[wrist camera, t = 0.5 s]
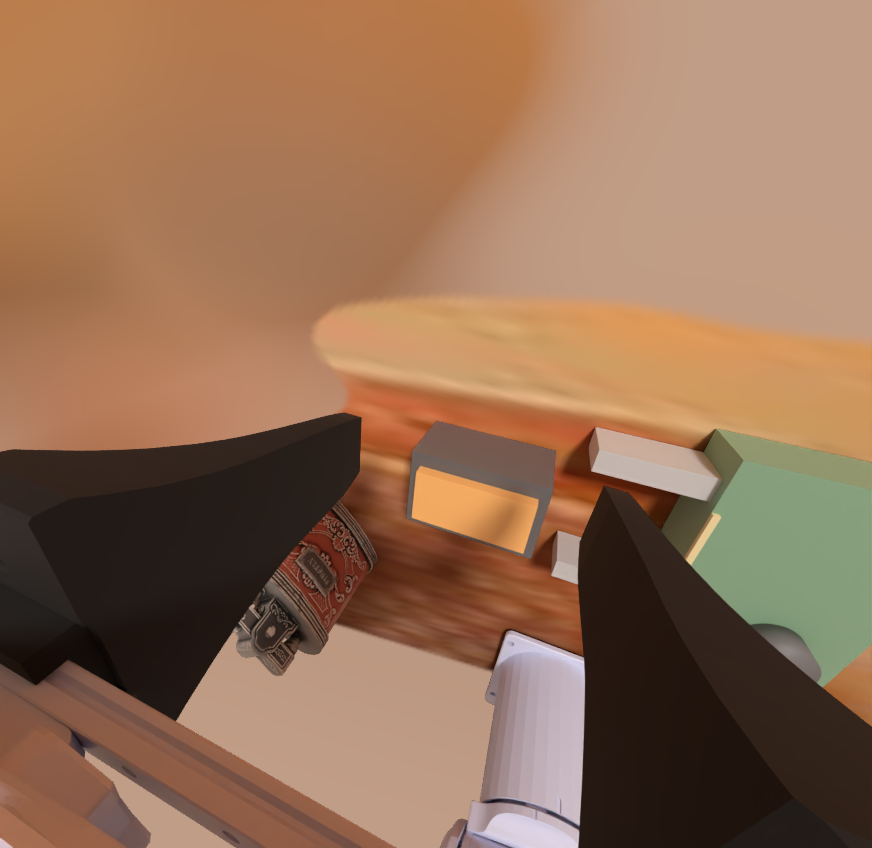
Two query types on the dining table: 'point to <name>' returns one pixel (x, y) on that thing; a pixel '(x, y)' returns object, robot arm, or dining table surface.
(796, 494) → the deck
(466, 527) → the grey box orange face
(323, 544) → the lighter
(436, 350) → the dining table surface
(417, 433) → the dining table surface
